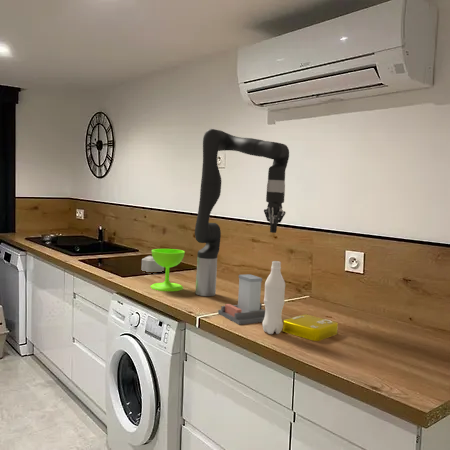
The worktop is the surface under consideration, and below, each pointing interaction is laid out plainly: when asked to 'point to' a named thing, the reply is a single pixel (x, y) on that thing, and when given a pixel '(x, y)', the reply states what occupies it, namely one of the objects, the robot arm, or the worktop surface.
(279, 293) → the water bottle
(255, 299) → the grey tall block
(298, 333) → the element tile
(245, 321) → the track
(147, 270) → the lumpy-topped squat cylinder
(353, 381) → the worktop surface
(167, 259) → the wineglass
